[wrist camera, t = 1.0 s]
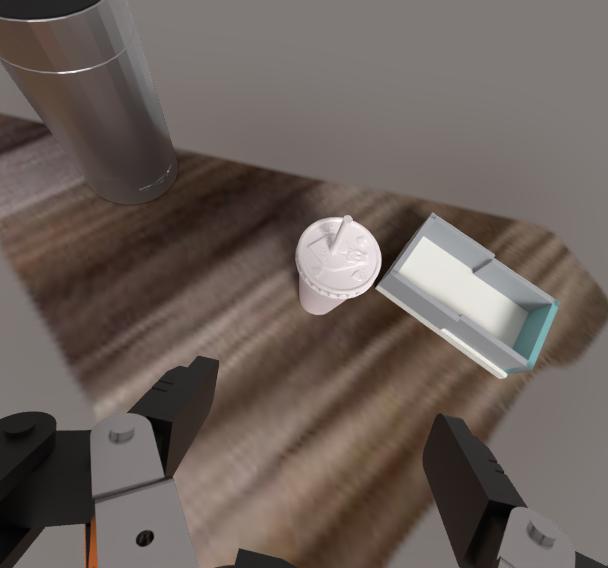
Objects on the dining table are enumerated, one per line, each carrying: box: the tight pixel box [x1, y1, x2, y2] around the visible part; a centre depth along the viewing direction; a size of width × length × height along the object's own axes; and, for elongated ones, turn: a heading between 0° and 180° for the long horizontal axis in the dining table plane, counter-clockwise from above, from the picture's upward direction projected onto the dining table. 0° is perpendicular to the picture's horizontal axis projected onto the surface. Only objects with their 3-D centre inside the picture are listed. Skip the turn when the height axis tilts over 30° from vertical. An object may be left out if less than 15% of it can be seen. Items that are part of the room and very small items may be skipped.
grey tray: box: [375, 213, 560, 379], centre depth 33 cm, size 15×9×4 cm, turn 53°
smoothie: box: [295, 216, 381, 315], centre depth 26 cm, size 6×6×14 cm
